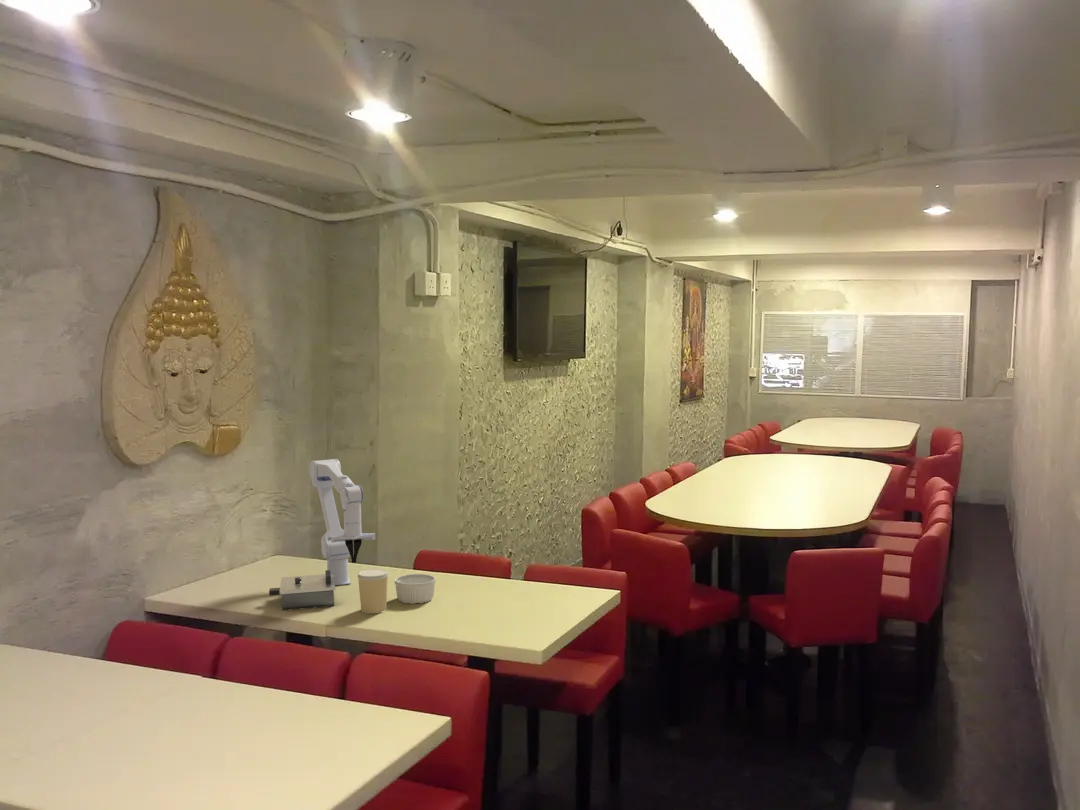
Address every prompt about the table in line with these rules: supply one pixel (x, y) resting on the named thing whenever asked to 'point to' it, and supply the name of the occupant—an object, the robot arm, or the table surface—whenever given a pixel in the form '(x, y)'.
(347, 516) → the robot arm
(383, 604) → the coffee cup
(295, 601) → the gray rectangular box
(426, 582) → the ramekin
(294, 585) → the lid
